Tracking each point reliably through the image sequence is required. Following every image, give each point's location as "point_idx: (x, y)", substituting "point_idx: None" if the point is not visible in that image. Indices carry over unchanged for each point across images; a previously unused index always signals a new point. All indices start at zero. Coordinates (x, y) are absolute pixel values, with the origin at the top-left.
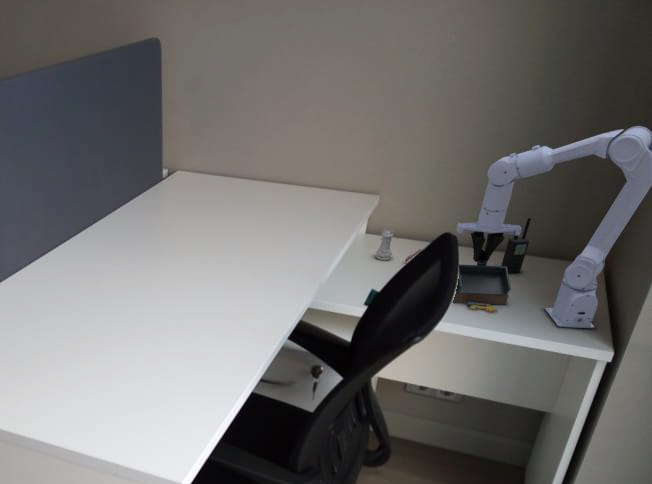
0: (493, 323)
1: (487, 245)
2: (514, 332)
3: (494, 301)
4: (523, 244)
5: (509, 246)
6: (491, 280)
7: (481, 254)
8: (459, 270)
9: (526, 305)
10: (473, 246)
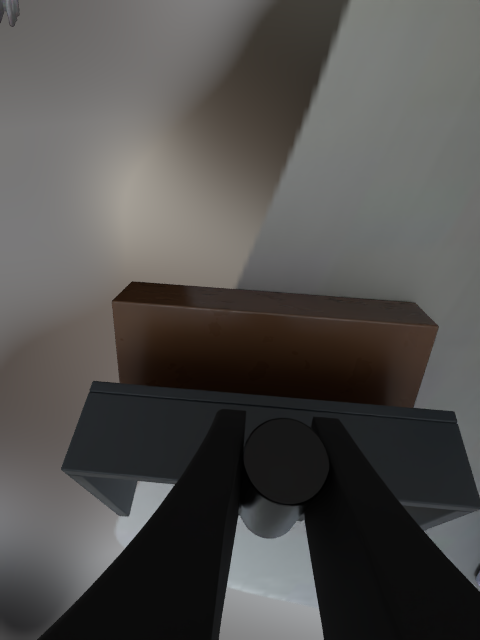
0: (254, 550)
1: (354, 610)
2: (299, 593)
3: None
4: None
5: None
6: None
7: (265, 521)
8: (91, 488)
9: (474, 437)
10: (158, 516)
